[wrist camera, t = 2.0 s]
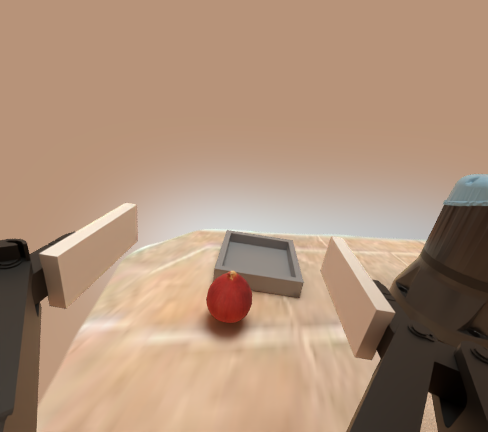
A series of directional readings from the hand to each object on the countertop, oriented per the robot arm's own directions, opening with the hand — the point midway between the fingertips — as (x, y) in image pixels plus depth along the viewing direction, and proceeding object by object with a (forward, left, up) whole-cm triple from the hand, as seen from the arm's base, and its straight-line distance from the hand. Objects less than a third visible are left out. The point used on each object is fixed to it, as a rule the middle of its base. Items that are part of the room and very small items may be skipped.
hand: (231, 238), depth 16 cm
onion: (-6, -8, -18) cm, 20 cm away
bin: (-17, -17, -18) cm, 30 cm away
